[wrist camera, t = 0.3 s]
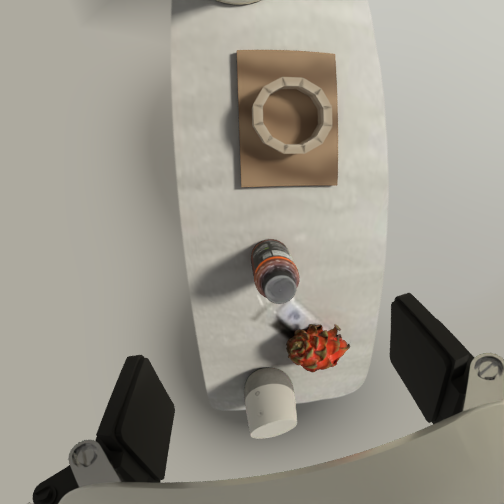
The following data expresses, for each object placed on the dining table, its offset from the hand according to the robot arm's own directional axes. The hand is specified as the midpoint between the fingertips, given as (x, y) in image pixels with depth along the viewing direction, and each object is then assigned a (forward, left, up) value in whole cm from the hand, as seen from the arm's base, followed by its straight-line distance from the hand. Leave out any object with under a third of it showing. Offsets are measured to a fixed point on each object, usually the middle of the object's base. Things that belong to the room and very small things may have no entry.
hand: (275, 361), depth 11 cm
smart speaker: (+33, -18, -36) cm, 52 cm away
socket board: (-5, +11, -36) cm, 38 cm away
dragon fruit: (+29, -5, -36) cm, 46 cm away
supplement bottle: (+11, -3, -36) cm, 38 cm away
